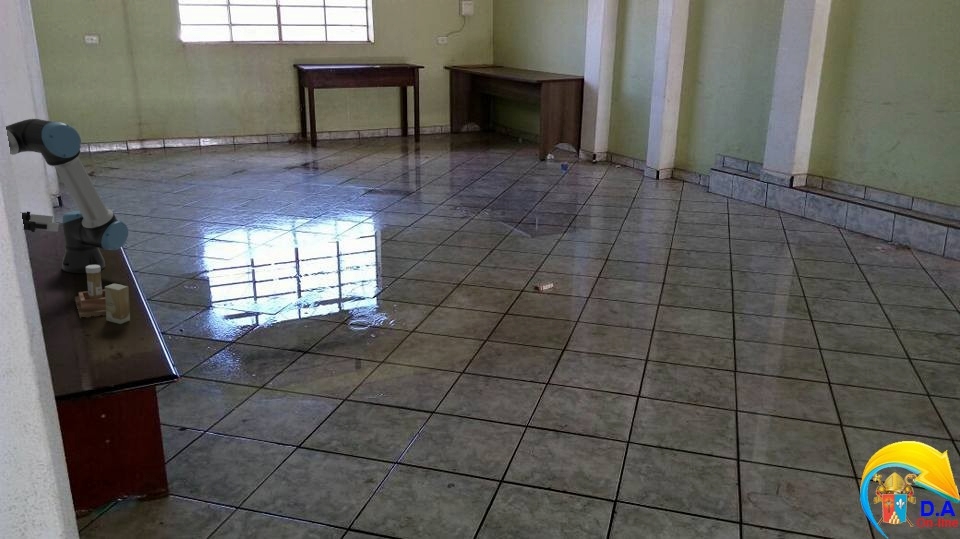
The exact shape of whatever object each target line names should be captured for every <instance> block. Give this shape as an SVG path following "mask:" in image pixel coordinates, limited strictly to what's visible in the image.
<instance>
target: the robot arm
mask: <svg viewBox="0 0 960 539" xmlns="http://www.w3.org/2000/svg"><path fill="white" fill-rule="evenodd" d="M5 127H6V130H7V136H8V141H9V147H10V154H9V155H11V156H13V155H14V156H15V155H17V154H20V153H24V152H25V153H26V152H34V153H38V154H40V155H42V157H43V159H44V160H45V163H46V164H47V165H48V166H51V167H54V168H55V170H56V173H57V174H58V175H59V178H60V179H61V181H62V183H63V184H64V187H65V188H66V190H67V192H68V193H69V195H70V197H71V199H72V200H73V202H74V204H75V205H76V208H77V209H78V210H73V211H68V212H65V213H64V214H63V215H62V224H61V225H62V227H63V228H62V230H63V237H64V245H65V250H64V255H63V258H62V262H61V268H62V270H63V271H64V272H66V273H72V274H87V273H86V266H88V265H99V266H100V267H101V270H103V269H104V268H105V267H106V263H105V258H104V257H103V254H102V252H101V250H100V249H103V250H107V251H108V250H109V251H116V250H119V249H121V248H122V247H123V246H124V245H125V244H126V242H127V240H128V237H129V227H128V226H127V224H126V223H125V222H123V221H121V220H118V218H117V217H116V215H115V213H114V211H113V210H112V209H109V208H106V206H105V204H104V202H103V200H102V198H101V196H100V195H99V192H98V190H97V189H96V187H95V184H94V183H93V182H92V180H91V178H90V176H89V174H88V173H87V171H86V167H84V165H83V163H82V161H81V159H80V155H81V152H82V151H81V150H80V149H81V147H82V146H81V143H82V140H81V136H80V133H79V132H78V131H77V130H76V129H75V128H74V127H73V126H72V125H70V124H67V123H63V122H60V121H50V120H45V119H39V118H28V119H23V120H20V121H17V122H14V123H11V124H9V125H6V126H5ZM21 213H22V219H23V224H24V229H23V230H24V231H31V232H32V233H35V232H36V231H45V232H57V233H58V232H59V227H60V226H59V225H60V223H58V222H53V220H54V216H53V215H46V214H33V213H31V211H26V212H21Z"/></svg>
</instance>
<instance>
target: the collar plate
mask: <svg viewBox="0 0 960 539" xmlns="http://www.w3.org/2000/svg"><path fill="white" fill-rule="evenodd" d="M102 295H103V298H96V299H89V295H88V290H86V291H78V296H74V302H76V303H75V305H76V309H78V310H77V312H78V316H79V319H82V318H81V317H86V318H92V317H91V316H94V317H100V315H103V316H106V300H105V288H104V289H102Z"/></svg>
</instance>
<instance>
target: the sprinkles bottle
mask: <svg viewBox="0 0 960 539" xmlns="http://www.w3.org/2000/svg"><path fill="white" fill-rule="evenodd" d="M101 271H102V269H101V267H100V266H99V265H88V266H86V273H85V274H86V279H87V280H86V284H87V291H88V295H89V299H96V298H103V295H102V290H103V285H102V277H101Z"/></svg>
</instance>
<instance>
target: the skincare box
mask: <svg viewBox="0 0 960 539" xmlns="http://www.w3.org/2000/svg"><path fill="white" fill-rule="evenodd" d="M104 289H105V300H106V315H105V316H106V317H105V318H106V321H107V322H108V321H109V322H111V323H114V324H115V323H116V324H120V325H123V324H124V323H127V322H130V321H131V313H130V312H131V311H130V309H131V308H130V293H129V291H130V289H129V286H128V285H122V284H118V283H112V284H109V285H106V286H104Z"/></svg>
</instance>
